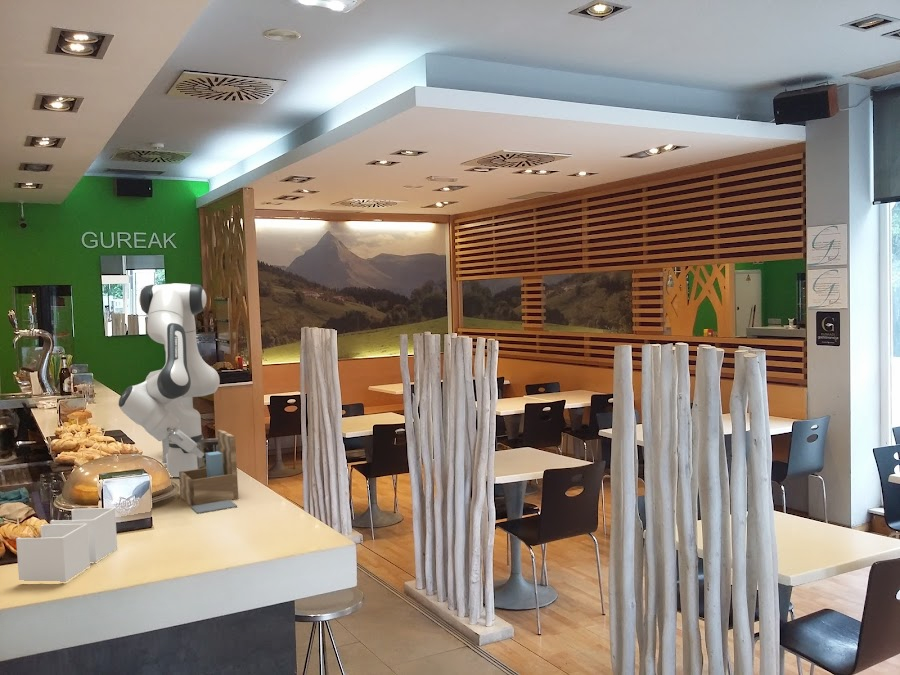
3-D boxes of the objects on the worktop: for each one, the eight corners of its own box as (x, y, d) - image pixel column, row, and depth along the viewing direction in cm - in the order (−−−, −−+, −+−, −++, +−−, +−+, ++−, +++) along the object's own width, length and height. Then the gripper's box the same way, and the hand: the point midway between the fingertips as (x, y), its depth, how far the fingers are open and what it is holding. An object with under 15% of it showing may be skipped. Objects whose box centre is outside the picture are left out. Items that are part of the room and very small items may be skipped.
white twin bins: (66, 585, 184) (62, 537, 184) (19, 585, 185) (16, 538, 184) (117, 549, 209) (114, 507, 209) (76, 550, 210) (73, 508, 209)
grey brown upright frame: (231, 484, 277) (228, 437, 276) (224, 488, 271) (221, 441, 270) (205, 484, 278) (202, 438, 277) (197, 489, 272) (195, 441, 271)
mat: (190, 507, 248) (190, 506, 248) (229, 501, 254) (229, 499, 254) (197, 513, 240) (197, 512, 240) (237, 507, 246) (237, 505, 246)
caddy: (180, 496, 263) (176, 435, 262) (225, 489, 270) (221, 429, 269) (191, 506, 249) (187, 442, 248) (238, 498, 256) (234, 436, 255)
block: (207, 483, 262) (205, 452, 261) (219, 481, 264) (218, 451, 263) (211, 486, 257) (209, 455, 257) (223, 484, 259) (222, 453, 259)
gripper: (178, 423, 244) (213, 450, 250) (165, 415, 262) (198, 441, 267) (164, 439, 242) (199, 467, 248) (152, 430, 260) (185, 456, 265)
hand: (198, 453), depth 258 cm, fingers open, 8 cm apart
